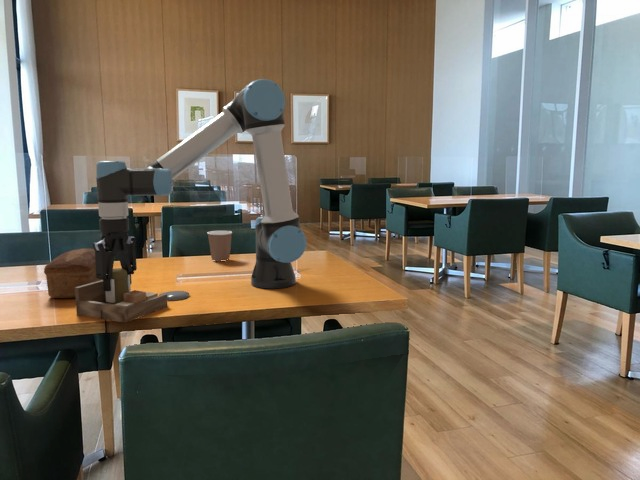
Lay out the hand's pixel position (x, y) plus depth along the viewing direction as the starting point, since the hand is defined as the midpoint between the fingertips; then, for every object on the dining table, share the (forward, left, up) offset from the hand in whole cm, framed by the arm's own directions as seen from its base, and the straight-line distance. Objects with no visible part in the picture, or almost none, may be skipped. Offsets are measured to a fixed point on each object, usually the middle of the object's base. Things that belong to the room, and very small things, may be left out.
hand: (118, 299), depth 137 cm
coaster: (-7, -15, -2) cm, 17 cm away
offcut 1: (-8, +6, -2) cm, 10 cm away
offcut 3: (-8, -3, -2) cm, 9 cm away
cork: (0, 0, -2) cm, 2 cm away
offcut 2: (-8, +2, -2) cm, 8 cm away
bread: (+27, -10, -3) cm, 29 cm away
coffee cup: (+12, -68, -2) cm, 69 cm away
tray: (-4, +2, -2) cm, 5 cm away
